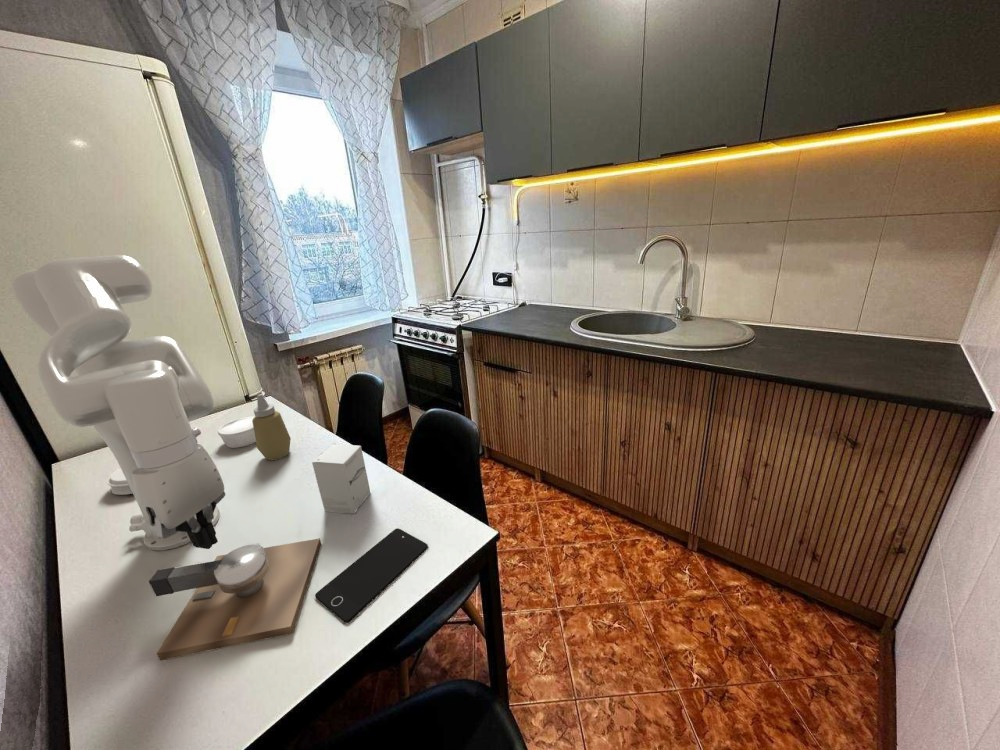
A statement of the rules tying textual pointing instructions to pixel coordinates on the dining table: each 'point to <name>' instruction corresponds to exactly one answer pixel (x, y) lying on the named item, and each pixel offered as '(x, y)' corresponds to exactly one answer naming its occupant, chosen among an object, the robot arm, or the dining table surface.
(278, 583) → the post base
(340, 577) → the cell phone
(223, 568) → the square-handled spoon
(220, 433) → the ramekin
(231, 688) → the dining table surface
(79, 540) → the dining table surface
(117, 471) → the lid
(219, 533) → the dining table surface
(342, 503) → the supplement box
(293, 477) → the dining table surface
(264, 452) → the squeeze bottle
